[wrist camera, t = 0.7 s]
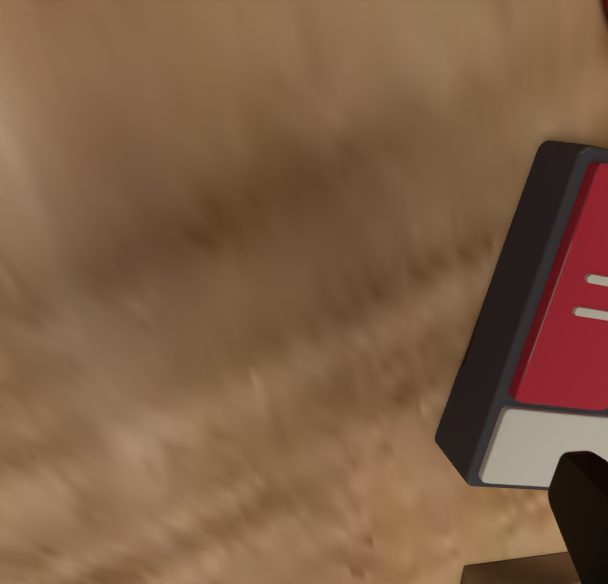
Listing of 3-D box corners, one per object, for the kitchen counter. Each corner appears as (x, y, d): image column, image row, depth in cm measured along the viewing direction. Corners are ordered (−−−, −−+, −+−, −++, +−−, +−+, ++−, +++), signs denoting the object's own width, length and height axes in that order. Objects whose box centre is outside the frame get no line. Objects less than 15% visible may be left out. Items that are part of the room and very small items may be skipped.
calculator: (818, 201, 23) (672, 508, 27) (723, 185, 27) (608, 455, 31) (598, 144, 20) (472, 498, 24) (527, 136, 24) (430, 441, 28)
